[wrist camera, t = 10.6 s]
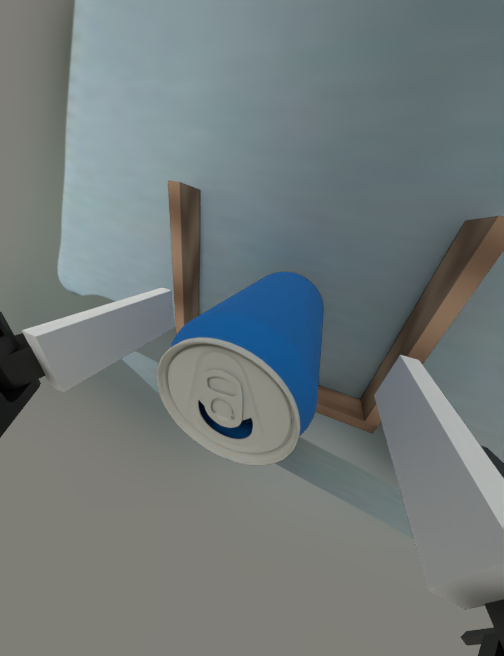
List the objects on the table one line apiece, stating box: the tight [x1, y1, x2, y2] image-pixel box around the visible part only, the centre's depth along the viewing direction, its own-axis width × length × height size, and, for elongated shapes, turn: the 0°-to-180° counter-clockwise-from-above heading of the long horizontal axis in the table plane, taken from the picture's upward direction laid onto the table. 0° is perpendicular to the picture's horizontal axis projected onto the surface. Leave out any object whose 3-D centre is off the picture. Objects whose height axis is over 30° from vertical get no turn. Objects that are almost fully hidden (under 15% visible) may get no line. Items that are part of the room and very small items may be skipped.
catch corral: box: [168, 181, 504, 433], centre depth 16 cm, size 16×20×2 cm
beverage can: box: [157, 272, 324, 466], centre depth 12 cm, size 6×6×12 cm
